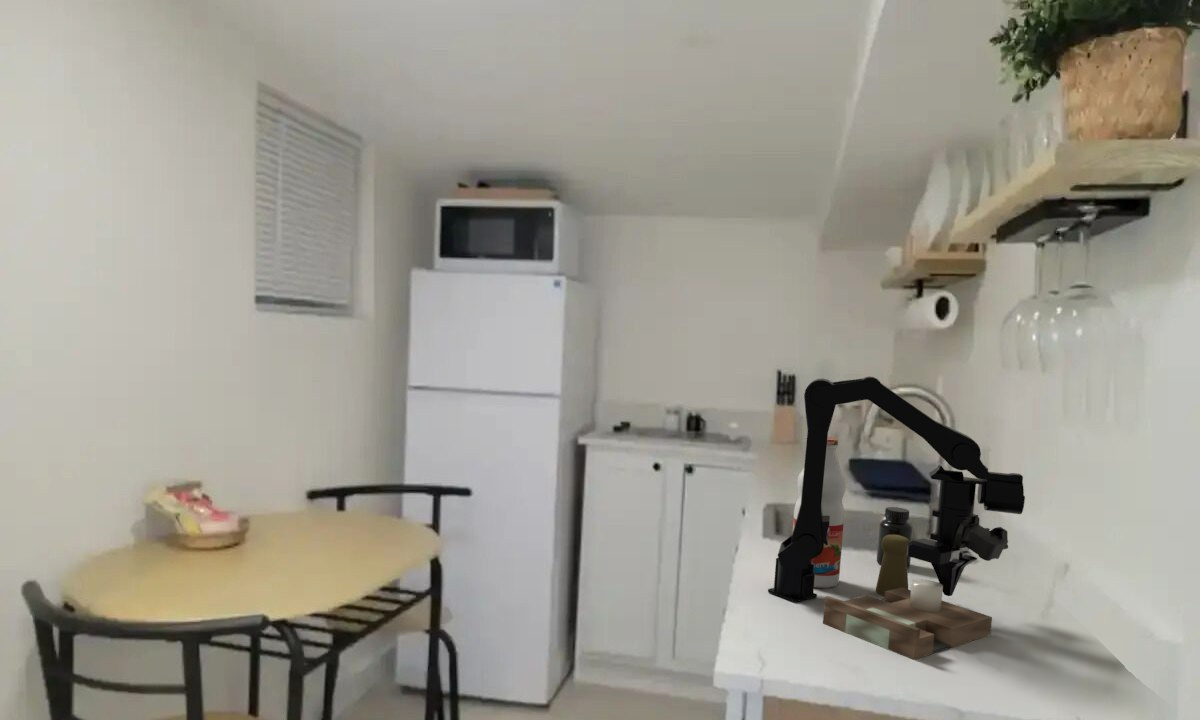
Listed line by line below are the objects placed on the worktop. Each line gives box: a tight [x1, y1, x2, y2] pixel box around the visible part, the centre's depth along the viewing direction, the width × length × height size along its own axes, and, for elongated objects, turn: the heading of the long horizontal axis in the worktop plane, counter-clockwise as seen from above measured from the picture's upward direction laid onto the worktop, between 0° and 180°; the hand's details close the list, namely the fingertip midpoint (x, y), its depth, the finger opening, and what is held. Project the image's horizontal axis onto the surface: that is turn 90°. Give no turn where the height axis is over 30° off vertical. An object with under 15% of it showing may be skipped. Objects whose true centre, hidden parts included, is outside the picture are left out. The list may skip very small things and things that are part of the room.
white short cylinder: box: [910, 578, 943, 612], centre depth 146 cm, size 5×5×4 cm
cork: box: [874, 535, 910, 597], centre depth 162 cm, size 6×6×11 cm
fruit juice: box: [792, 436, 847, 589], centre depth 167 cm, size 9×9×28 cm
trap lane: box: [822, 588, 993, 660], centre depth 143 cm, size 17×22×4 cm
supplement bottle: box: [876, 506, 914, 569], centre depth 183 cm, size 7×7×12 cm
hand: (947, 595), depth 150 cm, fingers closed
